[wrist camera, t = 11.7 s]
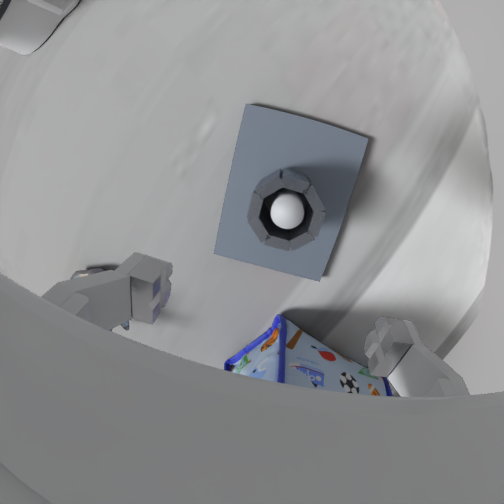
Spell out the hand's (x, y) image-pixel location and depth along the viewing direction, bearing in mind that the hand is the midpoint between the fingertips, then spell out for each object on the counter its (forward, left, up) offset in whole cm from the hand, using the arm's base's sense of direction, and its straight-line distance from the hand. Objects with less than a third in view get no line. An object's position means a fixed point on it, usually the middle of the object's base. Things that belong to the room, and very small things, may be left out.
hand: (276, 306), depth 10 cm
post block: (0, 0, -19) cm, 19 cm away
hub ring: (0, 0, -17) cm, 17 cm away
